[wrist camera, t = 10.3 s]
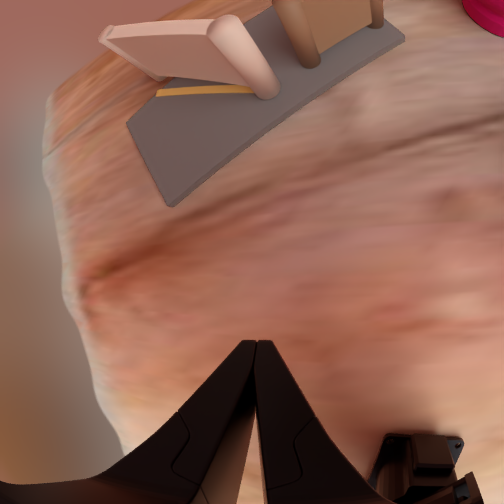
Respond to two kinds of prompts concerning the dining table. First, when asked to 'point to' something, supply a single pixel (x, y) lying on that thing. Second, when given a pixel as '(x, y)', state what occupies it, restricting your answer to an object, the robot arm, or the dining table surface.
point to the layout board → (245, 100)
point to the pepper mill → (487, 14)
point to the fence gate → (195, 52)
